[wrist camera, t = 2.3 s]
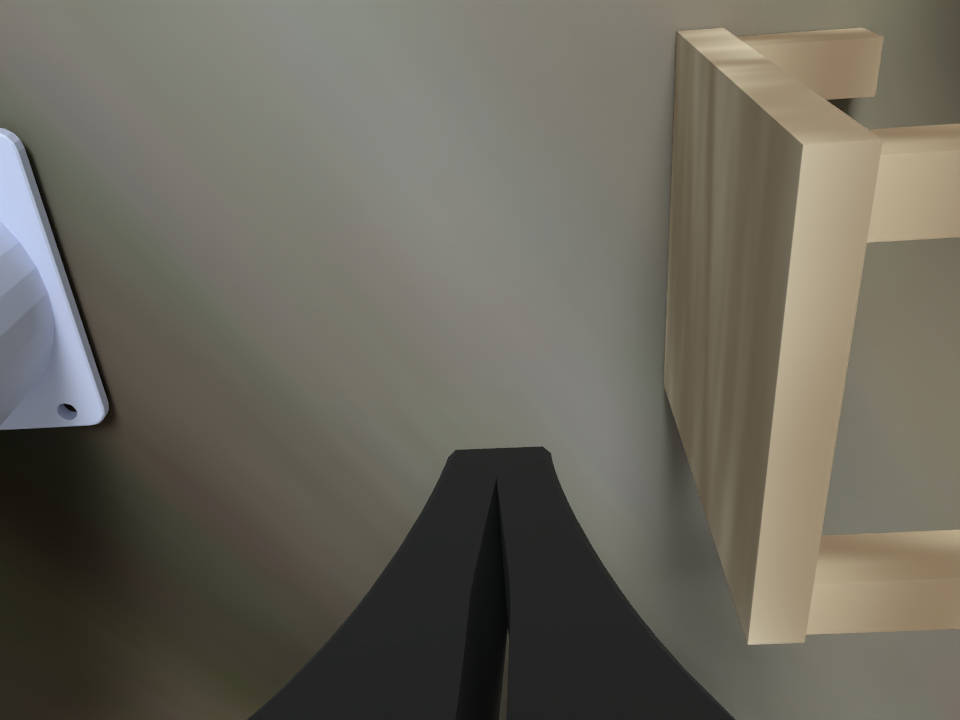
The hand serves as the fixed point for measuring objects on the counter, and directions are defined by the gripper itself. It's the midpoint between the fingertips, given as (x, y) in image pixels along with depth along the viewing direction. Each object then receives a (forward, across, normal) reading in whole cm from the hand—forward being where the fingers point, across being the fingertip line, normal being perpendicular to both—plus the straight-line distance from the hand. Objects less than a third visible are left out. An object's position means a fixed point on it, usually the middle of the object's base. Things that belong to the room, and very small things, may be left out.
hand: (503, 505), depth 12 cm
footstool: (+10, -6, 0) cm, 12 cm away
